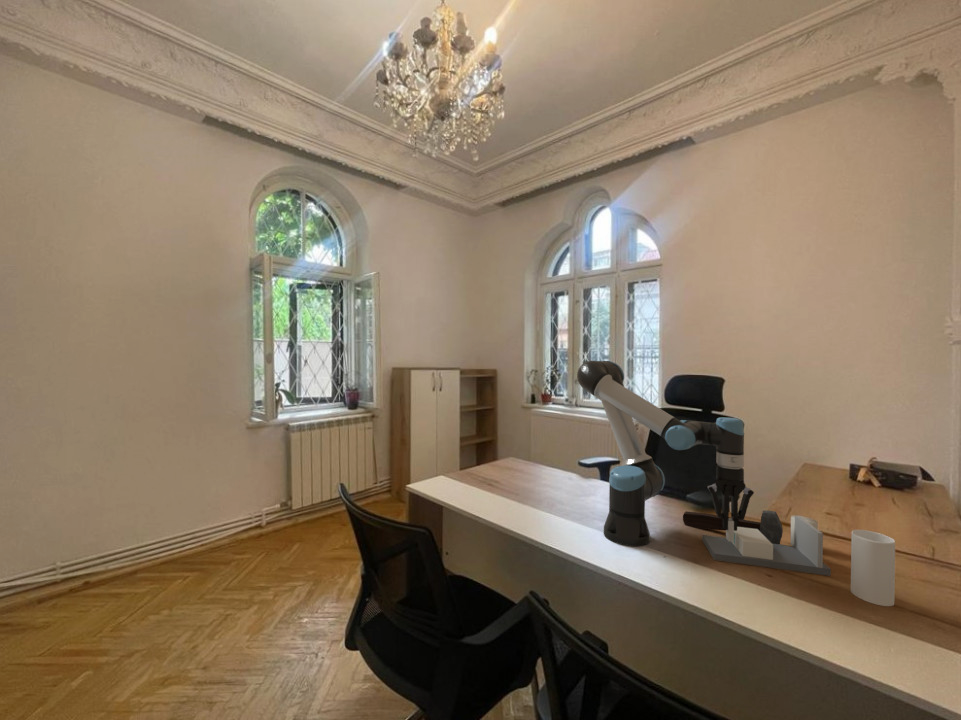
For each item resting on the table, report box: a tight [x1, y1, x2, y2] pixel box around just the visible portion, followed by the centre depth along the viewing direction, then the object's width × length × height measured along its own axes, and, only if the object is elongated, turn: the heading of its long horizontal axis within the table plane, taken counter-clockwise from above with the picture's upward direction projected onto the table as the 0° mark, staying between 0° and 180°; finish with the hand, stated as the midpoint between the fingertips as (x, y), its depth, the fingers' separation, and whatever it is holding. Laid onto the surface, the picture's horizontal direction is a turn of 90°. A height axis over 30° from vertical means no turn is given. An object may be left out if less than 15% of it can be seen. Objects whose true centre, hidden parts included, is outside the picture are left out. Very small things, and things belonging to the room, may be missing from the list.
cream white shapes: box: [790, 515, 819, 546], centre depth 134 cm, size 7×7×9 cm
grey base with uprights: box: [701, 514, 832, 577], centre depth 126 cm, size 30×14×12 cm, turn 74°
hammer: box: [682, 510, 784, 544], centre depth 142 cm, size 5×11×30 cm
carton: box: [732, 527, 773, 560], centre depth 127 cm, size 8×12×4 cm
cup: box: [850, 529, 896, 607], centre depth 105 cm, size 8×8×16 cm
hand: (729, 539), depth 128 cm, fingers closed
